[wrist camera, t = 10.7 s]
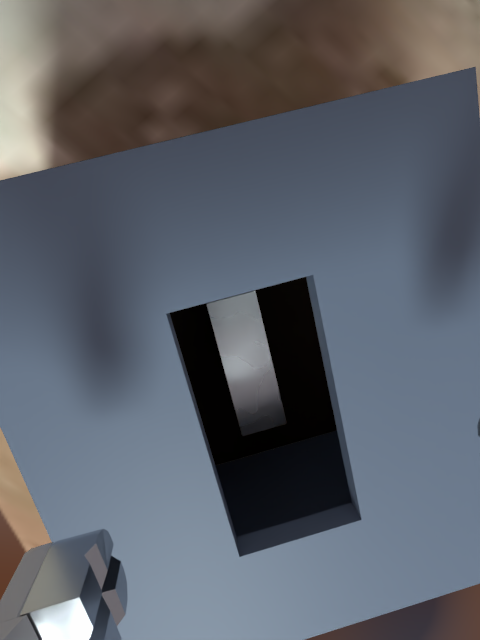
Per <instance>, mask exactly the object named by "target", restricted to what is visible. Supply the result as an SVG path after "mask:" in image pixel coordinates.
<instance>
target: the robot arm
mask: <svg viewBox="0 0 480 640" xmlns="http://www.w3.org/2000/svg"><path fill="white" fill-rule="evenodd" d="M477 429H478V436H479V437H480V418H479V421H478V425H477ZM113 546H114V543H113V541H112V538H111V536H110V534H109V532H108V531H107V530H105V529H100V530H96V531H92V532H88V533H85V534H81V535H77V536H74V537H70V538H66V539H62V540H59V541H56V542H52V543H48V544H45V545H41V546H38V547H35V548H31V549H30V550H29V551H27V552H26V553H25V554H24V556H23V558H22V560H21V562H20V564H19V566H18V568H17V570H16V572H15V573H14V575H13V577H12V579H11V581H10V583H9V585H8V587H7V589H6V591H5V593H4V595H3V597H2V599H1V601H0V640H121V636H120V633H119V631H118V628H117V626H118V624H119V623H120V622H121V620H122V619H123V617H124V616H125V615H126V608H127V601H128V593H127V580H126V575H125V571H124V568H123V566H122V563H121V561H120V560H118V559H116V558H115V557H113V556H111V554H112V550H113Z"/></svg>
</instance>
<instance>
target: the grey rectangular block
mask: <svg viewBox="0 0 480 640" xmlns="http://www.w3.org/2000/svg"><path fill="white" fill-rule="evenodd" d="M206 304H207V308H208V312H209V316H210V319H211V323H212V327H213V330H214V334H215V338H216V341H217V345H218V349H219V352H220V356H221V360H222V363H223V367H224V371H225V374H226V378H227V382H228V385H229V389H230V393H231V396H232V400H233V404H234V407H235V411H236V415H237V419H238V422H239V426H240V430H241V433H242V436H245V435H249V434H252V433H256V432H259V431H263V430H266V429H270V428H273V427H277V426H280V425H284V424H287V422H286V418H285V414H284V409H283V405H282V401H281V397H280V392H279V388H278V384H277V380H276V376H275V371H274V367H273V363H272V359H271V354H270V350H269V346H268V342H267V338H266V333H265V329H264V325H263V321H262V317H261V312H260V308H259V304H258V300H257V295H256V291H255V290H254V291H250V292H246V293H243V294H239V295H235V296H231V297H227V298H224V299H220V300H216V301H212V302H209V303H206Z"/></svg>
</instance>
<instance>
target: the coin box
mask: <svg viewBox="0 0 480 640" xmlns="http://www.w3.org/2000/svg"><path fill="white" fill-rule="evenodd" d="M303 277H306V279H307V284H308V289H309V294H310V299H311V304H312V309H313V314H314V319H315V324H316V329H317V334H318V339H319V344H320V349H321V353H322V358H323V363H324V368H325V373H326V378H327V383H328V388H329V393H330V398H331V403H332V408H333V413H334V418H335V423H336V427H337V430H336V431H332V432H329V433H325V434H322V435H318V436H315V437H312V438H308V439H305V440H301V441H298V442H294V443H291V444H287V445H284V446H280V447H277V448H274V449H270V450H267V451H263V452H260V453H256V454H253V455H249V456H246V457H243V458H239V459H236V460H232V461H229V462H225V463H222V464H218V465H215V463H214V460H213V457H212V453H211V450H210V447H209V443H208V440H207V437H206V433H205V430H204V427H203V423H202V420H201V417H200V413H199V410H198V407H197V403H196V400H195V396H194V393H193V390H192V386H191V383H190V380H189V376H188V373H187V370H186V366H185V363H184V360H183V356H182V353H181V350H180V346H179V343H178V340H177V336H176V333H175V330H174V326H173V323H172V320H171V316H170V313H171V312H175V311H178V310H182V309H186V308H190V307H193V306H197V305H201V304H205V303H209V302H212V301H216V300H220V299H224V298H227V297H231V296H235V295H239V294H243V293H246V292H250V291H254V290H258V289H261V288H265V287H269V286H273V285H276V284H280V283H284V282H288V281H292V280H295V279H299V278H303ZM479 418H480V118H479V105H478V93H477V81H476V68H475V67H473V68H469V69H464V70H460V71H456V72H452V73H448V74H444V75H439V76H435V77H431V78H427V79H423V80H418V81H414V82H410V83H406V84H402V85H398V86H393V87H389V88H385V89H381V90H377V91H373V92H368V93H364V94H360V95H356V96H352V97H347V98H343V99H339V100H335V101H331V102H327V103H322V104H318V105H314V106H310V107H306V108H302V109H297V110H293V111H289V112H285V113H281V114H276V115H272V116H268V117H264V118H260V119H256V120H251V121H247V122H243V123H239V124H235V125H231V126H226V127H222V128H218V129H214V130H210V131H205V132H201V133H197V134H193V135H189V136H185V137H180V138H176V139H172V140H168V141H164V142H160V143H155V144H151V145H147V146H143V147H139V148H134V149H130V150H126V151H122V152H118V153H114V154H109V155H105V156H101V157H97V158H93V159H89V160H84V161H80V162H76V163H72V164H68V165H63V166H59V167H55V168H51V169H47V170H43V171H38V172H34V173H30V174H26V175H22V176H18V177H13V178H9V179H5V180H1V181H0V427H1V429H2V432H3V434H4V436H5V438H6V441H7V443H8V445H9V447H10V449H11V452H12V454H13V456H14V458H15V461H16V463H17V465H18V467H19V470H20V472H21V474H22V476H23V479H24V481H25V483H26V485H27V487H28V490H29V492H30V494H31V496H32V499H33V501H34V503H35V505H36V508H37V510H38V512H39V514H40V517H41V519H42V521H43V523H44V526H45V528H46V530H47V532H48V534H49V537H50V539H51V541H52V542H56V541H59V540H62V539H66V538H70V537H74V536H77V535H81V534H85V533H88V532H92V531H96V530H100V529H105V530H107V531H108V532H109V534H110V536H111V538H112V541H113V543H114V546H113V550H112V554H111V556H113V557H115V558H116V559H118V560H120V561H121V563H122V566H123V568H124V571H125V575H126V580H127V593H128V601H127V608H126V615H125V616H124V617H123V619H122V620H121V622H120V623H119V624H118V626H117V628H118V631H119V633H120V636H121V640H304V639H307V638H311V637H314V636H317V635H320V634H323V633H326V632H329V631H332V630H335V629H339V628H342V627H345V626H348V625H351V624H354V623H357V622H360V621H364V620H367V619H370V618H373V617H376V616H379V615H382V614H386V613H389V612H391V611H395V610H398V609H401V608H404V607H407V606H411V605H414V604H417V603H420V602H423V601H426V600H429V599H433V598H436V597H438V596H442V595H445V594H448V593H451V592H454V591H457V590H461V589H464V588H467V587H470V586H473V585H476V584H479V583H480V437H479V436H478V429H477V425H478V421H479Z"/></svg>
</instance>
